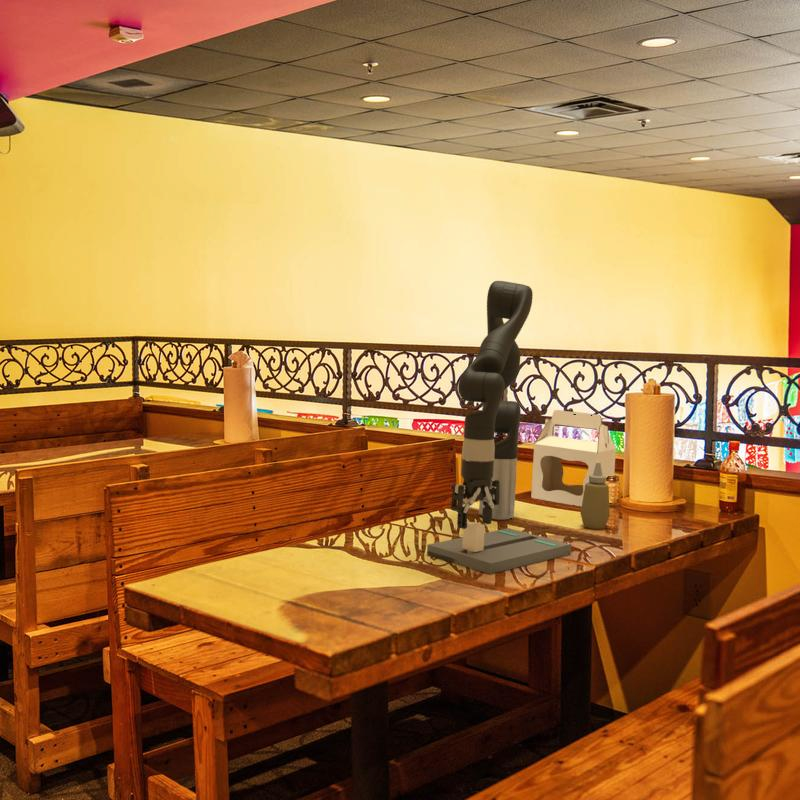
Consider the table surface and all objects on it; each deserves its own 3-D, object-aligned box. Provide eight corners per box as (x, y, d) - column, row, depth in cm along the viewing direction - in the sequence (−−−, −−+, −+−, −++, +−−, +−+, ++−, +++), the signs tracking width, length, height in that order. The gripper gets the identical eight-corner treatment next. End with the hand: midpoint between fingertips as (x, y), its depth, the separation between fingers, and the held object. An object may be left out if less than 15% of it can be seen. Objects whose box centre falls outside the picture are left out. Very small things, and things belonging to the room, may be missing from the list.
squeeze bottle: (611, 531, 266) (616, 466, 264) (582, 529, 266) (586, 464, 264) (606, 524, 274) (610, 461, 272) (577, 523, 274) (581, 460, 272)
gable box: (613, 503, 304) (619, 414, 301) (594, 509, 294) (600, 417, 291) (550, 492, 317) (555, 407, 315) (530, 498, 307) (535, 410, 304)
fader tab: (462, 554, 229) (463, 523, 228) (470, 552, 231) (472, 521, 230) (474, 557, 226) (476, 526, 225) (483, 555, 228) (484, 525, 227)
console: (427, 554, 232) (427, 543, 232) (507, 537, 253) (508, 527, 253) (490, 574, 218) (491, 562, 218) (570, 554, 239) (571, 543, 239)
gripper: (485, 453, 234) (482, 519, 235) (445, 457, 224) (441, 526, 225) (510, 457, 228) (506, 525, 230) (469, 462, 219) (465, 533, 220)
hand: (474, 525), depth 228 cm, fingers open, 8 cm apart
